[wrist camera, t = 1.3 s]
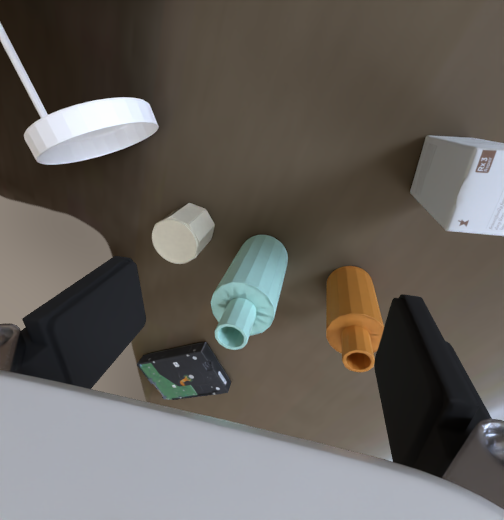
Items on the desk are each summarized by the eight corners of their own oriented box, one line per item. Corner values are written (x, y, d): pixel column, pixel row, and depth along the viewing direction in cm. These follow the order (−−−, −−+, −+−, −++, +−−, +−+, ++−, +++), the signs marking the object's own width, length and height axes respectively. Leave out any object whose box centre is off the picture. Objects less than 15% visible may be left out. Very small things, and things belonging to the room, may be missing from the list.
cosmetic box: (450, 195, 31) (512, 242, 21) (405, 192, 32) (443, 235, 22) (472, 133, 28) (557, 151, 18) (422, 132, 29) (475, 147, 19)
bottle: (232, 244, 40) (183, 318, 26) (275, 227, 37) (245, 298, 24) (253, 282, 42) (218, 369, 28) (295, 269, 40) (279, 356, 26)
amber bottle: (320, 273, 39) (317, 345, 27) (363, 260, 37) (380, 331, 25) (335, 306, 41) (339, 386, 29) (377, 295, 39) (399, 378, 27)
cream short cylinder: (166, 214, 40) (142, 230, 35) (199, 197, 38) (179, 212, 33) (188, 249, 42) (169, 269, 37) (221, 235, 40) (205, 254, 35)
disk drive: (206, 338, 50) (143, 353, 56) (200, 350, 48) (134, 365, 53) (233, 380, 54) (171, 390, 59) (229, 393, 51) (164, 402, 57)
